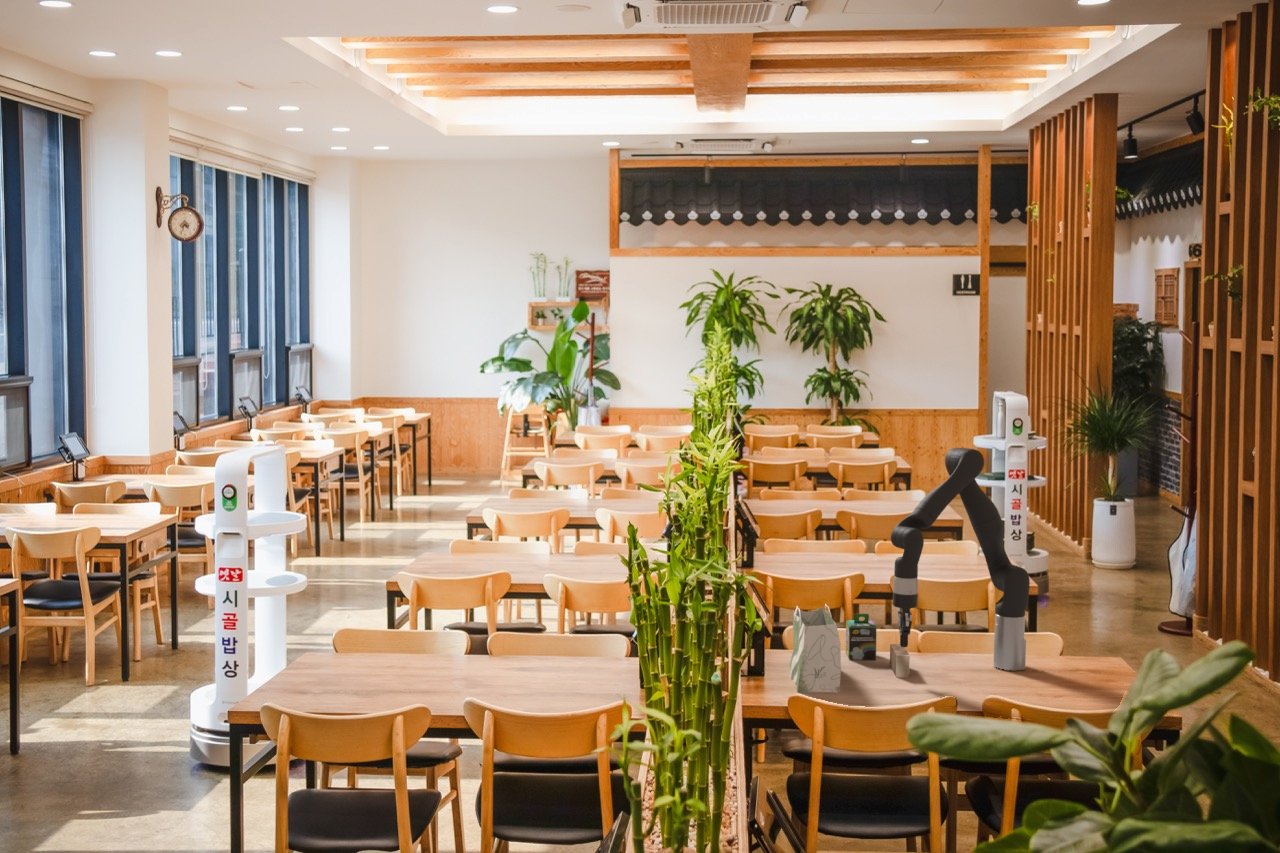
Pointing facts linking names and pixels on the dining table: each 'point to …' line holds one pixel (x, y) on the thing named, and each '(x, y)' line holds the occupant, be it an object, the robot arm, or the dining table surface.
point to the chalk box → (861, 638)
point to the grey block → (899, 660)
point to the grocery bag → (815, 652)
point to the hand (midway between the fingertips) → (903, 646)
